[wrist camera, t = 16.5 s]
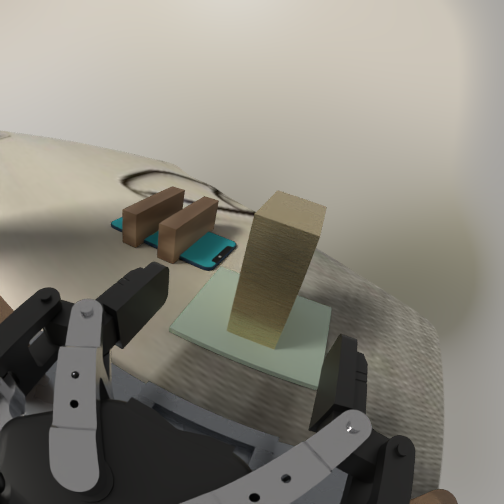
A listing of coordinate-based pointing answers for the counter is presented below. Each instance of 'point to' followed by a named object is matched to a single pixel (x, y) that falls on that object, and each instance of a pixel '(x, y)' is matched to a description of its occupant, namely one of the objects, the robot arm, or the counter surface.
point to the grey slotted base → (206, 428)
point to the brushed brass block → (274, 266)
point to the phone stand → (168, 222)
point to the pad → (248, 352)
